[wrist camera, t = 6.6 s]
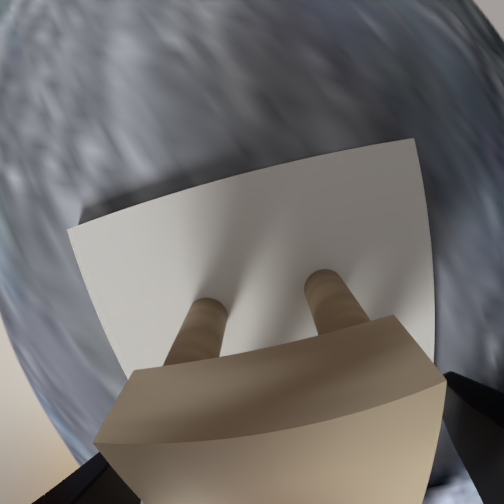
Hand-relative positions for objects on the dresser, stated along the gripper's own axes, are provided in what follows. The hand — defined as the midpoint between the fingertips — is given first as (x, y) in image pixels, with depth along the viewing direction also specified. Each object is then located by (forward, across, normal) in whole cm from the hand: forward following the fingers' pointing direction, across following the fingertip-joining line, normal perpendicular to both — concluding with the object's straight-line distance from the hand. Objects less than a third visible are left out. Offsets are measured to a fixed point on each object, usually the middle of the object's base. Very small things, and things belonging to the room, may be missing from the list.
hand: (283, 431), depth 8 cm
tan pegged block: (+4, 0, 0) cm, 4 cm away
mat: (+5, 0, 0) cm, 5 cm away
